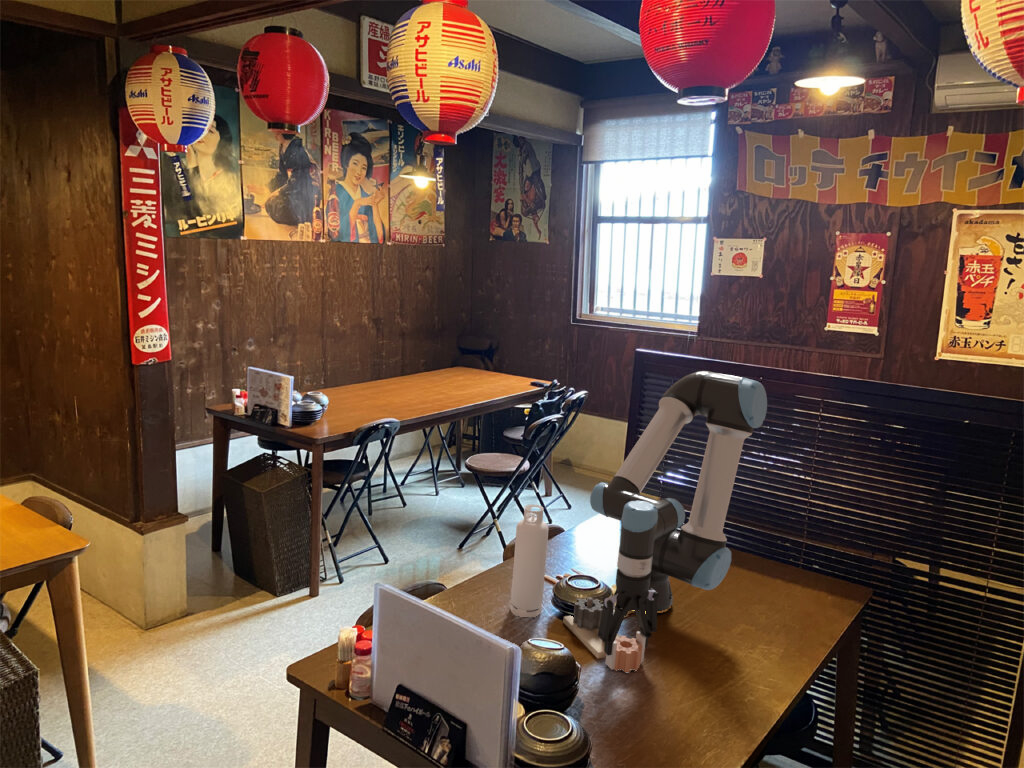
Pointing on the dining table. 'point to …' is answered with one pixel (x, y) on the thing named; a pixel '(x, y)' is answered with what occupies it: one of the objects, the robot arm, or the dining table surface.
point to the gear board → (587, 637)
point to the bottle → (529, 563)
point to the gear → (627, 654)
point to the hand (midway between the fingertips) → (624, 662)
